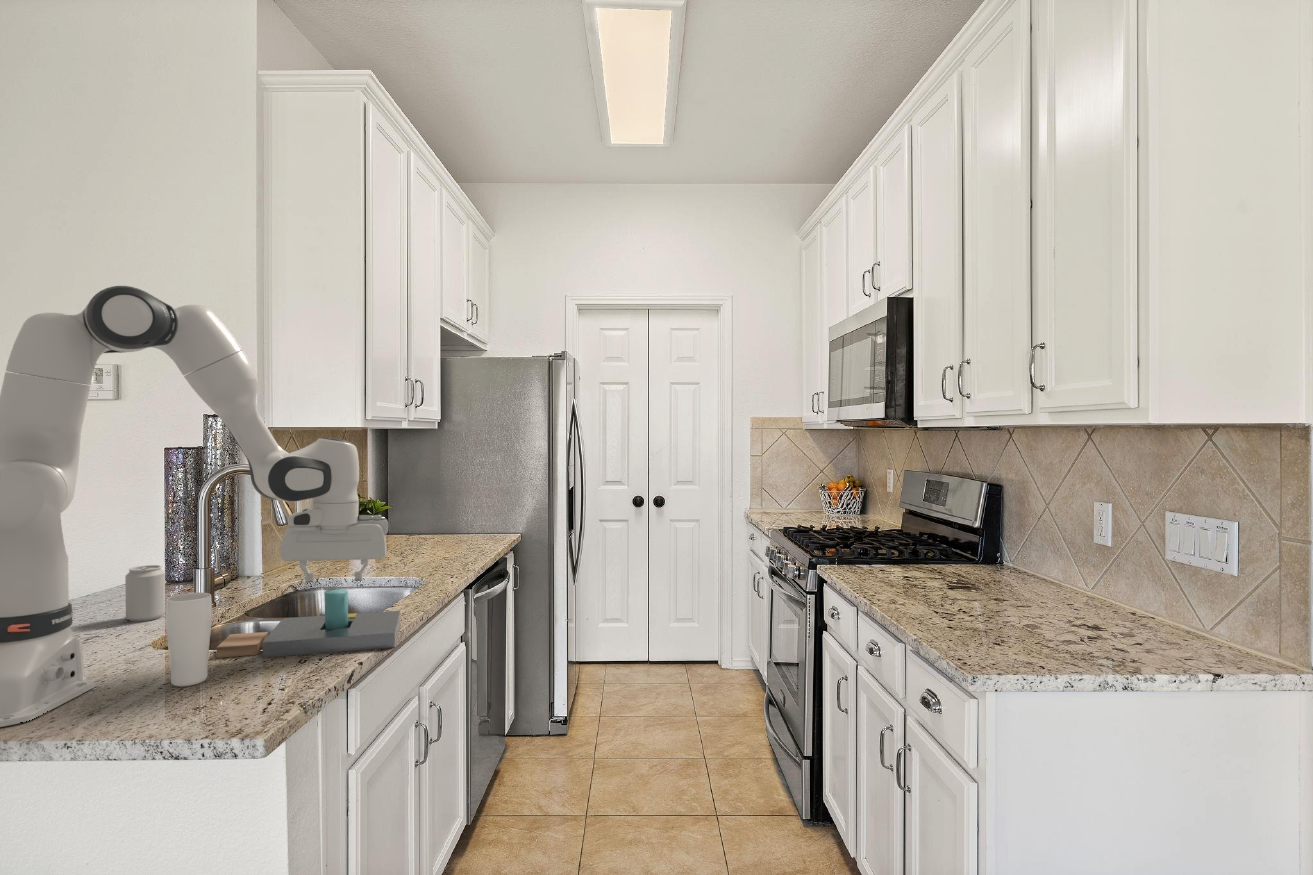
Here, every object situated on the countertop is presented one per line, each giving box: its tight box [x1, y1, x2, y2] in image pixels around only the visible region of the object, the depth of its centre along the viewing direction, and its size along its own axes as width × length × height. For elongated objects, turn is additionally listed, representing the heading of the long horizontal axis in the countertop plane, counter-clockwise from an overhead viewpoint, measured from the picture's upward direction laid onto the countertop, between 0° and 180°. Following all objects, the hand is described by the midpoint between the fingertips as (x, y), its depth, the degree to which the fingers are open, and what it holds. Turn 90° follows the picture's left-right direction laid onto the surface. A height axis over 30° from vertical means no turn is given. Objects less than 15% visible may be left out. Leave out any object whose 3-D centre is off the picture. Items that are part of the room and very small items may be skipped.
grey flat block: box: [262, 610, 401, 659], centre depth 149 cm, size 18×24×3 cm
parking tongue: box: [216, 631, 269, 659], centre depth 143 cm, size 9×7×2 cm
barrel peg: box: [324, 589, 349, 630], centre depth 149 cm, size 4×4×10 cm
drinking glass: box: [164, 592, 213, 688], centre depth 124 cm, size 7×7×15 cm
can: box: [124, 564, 166, 623], centre depth 165 cm, size 8×8×12 cm
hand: (334, 581), depth 149 cm, fingers open, 8 cm apart
